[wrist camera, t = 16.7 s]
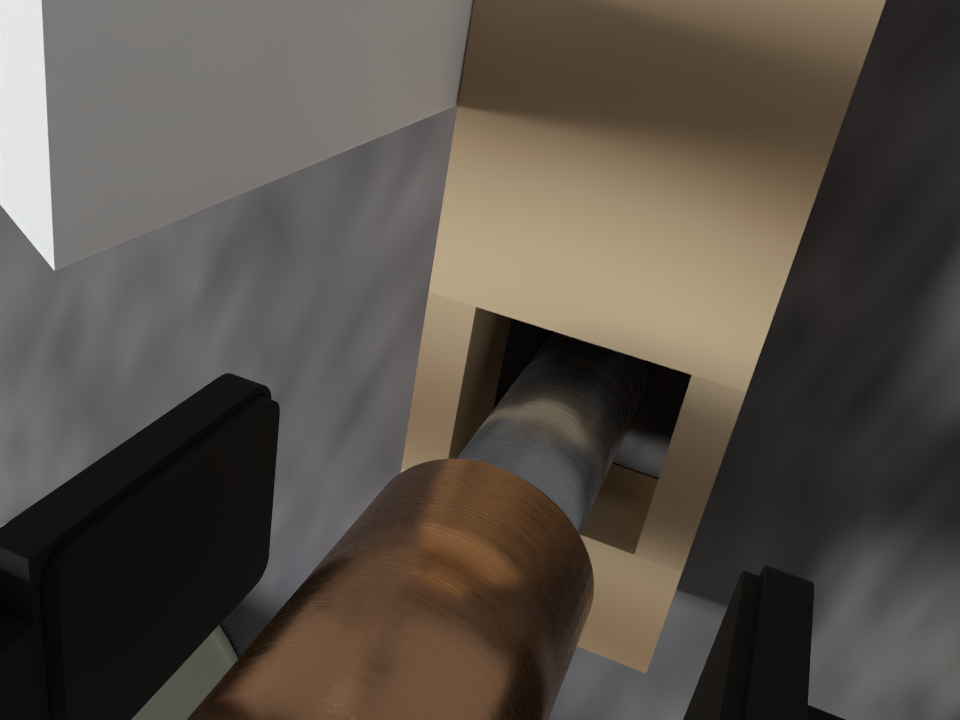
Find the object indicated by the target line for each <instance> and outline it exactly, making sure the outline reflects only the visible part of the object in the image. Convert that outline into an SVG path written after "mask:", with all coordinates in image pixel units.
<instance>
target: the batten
mask: <svg viewBox="0 0 960 720" xmlns="http://www.w3.org/2000/svg"><path fill="white" fill-rule="evenodd" d="M885 2H886V0H474V5H473V11H472V18H471V24H470V31H469V37H468V44H467V50H466V56H465V63H464V69H463V76H462V82H461V89H460V95H459V101H458V108H457V114H456V121H455V127H454V134H453V140H452V146H451V153H450V159H449V166H448V172H447V179H446V185H445V191H444V198H443V204H442V211H441V217H440V224H439V230H438V236H437V243H436V249H435V256H434V262H433V269H432V275H431V281H430V288H429V294H428V301H427V307H426V314H425V320H424V326H423V333H422V339H421V346H420V352H419V359H418V365H417V371H416V378H415V384H414V391H413V397H412V404H411V410H410V416H409V423H408V429H407V436H406V442H405V449H404V455H403V461H402V468H401V472H403V471H405V470H407V469H408V468H410V467H413V466H415V465H418V464H421V463H424V462H428V461H433V460H439V459H456V458H457V457H458V456H459V454H460V453H461V452H462V450H463V449H464V448H465V446H466V445H467V444H468V443H469V441H470V440H471V439H472V437H473V436H474V435H475V433H476V432H477V431H478V429H479V428H480V427H481V425H482V424H483V423H484V421H485V420H486V419H487V418H488V416H489V415H490V414H491V412H492V411H493V408H494V403H495V398H496V393H497V388H498V383H499V379H500V374H501V369H502V364H503V359H504V354H505V349H506V345H507V340H508V335H509V330H510V325H511V320H512V318H513V319H516V320H519V321H522V322H526V323H529V324H532V325H535V326H538V327H541V328H545V329H548V330H551V331H554V332H557V333H561V334H564V335H567V336H570V337H573V338H576V339H580V340H583V341H586V342H589V343H592V344H595V345H599V346H602V347H605V348H608V349H611V350H614V351H618V352H621V353H624V354H627V355H630V356H633V357H637V358H640V359H643V360H646V361H649V362H653V363H656V364H659V365H662V366H665V367H668V368H672V369H675V370H678V371H681V372H684V373H687V374H691V375H692V376H691V379H690V382H689V385H688V388H687V391H686V395H685V398H684V401H683V404H682V407H681V410H680V413H679V416H678V420H677V423H676V426H675V429H674V432H673V435H672V438H671V441H670V445H669V448H668V451H667V454H666V457H665V460H664V463H663V466H662V470H661V473H660V476H659V479H655V478H652V477H649V476H646V475H644V474H641V473H638V472H635V471H632V470H629V469H626V468H623V467H620V466H618V465H615V464H611V467H610V469H609V471H608V473H607V475H606V478H605V480H604V482H603V484H602V486H601V489H600V491H599V493H598V495H597V497H596V500H595V502H594V504H593V506H592V508H591V511H590V513H589V515H588V517H587V519H586V522H585V524H584V526H583V528H582V530H581V533H580V536H581V538H582V540H583V542H584V544H585V547H586V549H587V552H588V554H589V557H590V561H591V565H592V569H593V577H594V597H593V602H592V606H591V610H590V613H589V615H588V618H587V621H586V623H585V626H584V628H583V631H582V633H581V636H580V639H579V641H578V644H577V646H578V647H580V648H583V649H585V650H588V651H590V652H593V653H595V654H598V655H601V656H603V657H606V658H608V659H611V660H613V661H616V662H618V663H621V664H623V665H626V666H628V667H631V668H633V669H636V670H638V671H641V672H643V673H647V670H648V667H649V664H650V661H651V659H652V656H653V653H654V650H655V647H656V645H657V642H658V639H659V636H660V633H661V630H662V628H663V625H664V622H665V619H666V616H667V614H668V611H669V608H670V605H671V602H672V600H673V597H674V594H675V591H676V588H677V586H678V583H679V580H680V577H681V574H682V572H683V569H684V566H685V563H686V560H687V558H688V555H689V552H690V549H691V546H692V543H693V541H694V538H695V535H696V532H697V529H698V527H699V524H700V521H701V518H702V515H703V513H704V510H705V507H706V504H707V501H708V499H709V496H710V493H711V490H712V487H713V485H714V482H715V479H716V476H717V473H718V471H719V468H720V465H721V462H722V459H723V456H724V454H725V451H726V448H727V445H728V442H729V440H730V437H731V434H732V431H733V428H734V426H735V423H736V420H737V417H738V414H739V412H740V409H741V406H742V403H743V400H744V398H745V395H746V392H747V389H748V386H749V384H750V381H751V378H752V375H753V372H754V369H755V367H756V364H757V361H758V358H759V355H760V353H761V350H762V347H763V344H764V341H765V339H766V336H767V333H768V330H769V327H770V325H771V322H772V319H773V316H774V313H775V311H776V308H777V305H778V302H779V299H780V297H781V294H782V291H783V288H784V285H785V282H786V280H787V277H788V274H789V271H790V268H791V266H792V263H793V260H794V257H795V254H796V252H797V249H798V246H799V243H800V240H801V238H802V235H803V232H804V229H805V226H806V224H807V221H808V218H809V215H810V212H811V210H812V207H813V204H814V201H815V198H816V195H817V193H818V190H819V187H820V184H821V181H822V179H823V176H824V173H825V170H826V167H827V165H828V162H829V159H830V156H831V153H832V151H833V148H834V145H835V142H836V139H837V137H838V134H839V131H840V128H841V125H842V123H843V120H844V117H845V114H846V111H847V108H848V106H849V103H850V100H851V97H852V94H853V92H854V89H855V86H856V83H857V80H858V78H859V75H860V72H861V69H862V66H863V64H864V61H865V58H866V55H867V52H868V50H869V47H870V44H871V41H872V38H873V36H874V33H875V30H876V27H877V24H878V21H879V19H880V16H881V13H882V10H883V7H884V5H885Z"/></svg>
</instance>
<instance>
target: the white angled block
mask: <svg viewBox="0 0 960 720" xmlns="http://www.w3.org/2000/svg"><path fill="white" fill-rule="evenodd" d="M473 5H474V0H0V205H1V206H2V207H3V208H4V210H5V211H6V212H7V213H8V215H9V216H10V217H11V218H12V219H13V221H14V222H15V223H16V224H17V226H18V227H19V228H20V229H21V230H22V232H23V233H24V234H25V235H26V237H27V238H28V239H29V240H30V241H31V243H32V244H33V245H34V246H35V248H36V249H37V250H38V251H39V252H40V254H41V255H42V256H43V257H44V259H45V260H46V261H47V262H48V263H49V265H50V266H51V267H52V268H53V270H54V271H56V270H58V269H61V268H63V267H66V266H68V265H71V264H73V263H75V262H78V261H80V260H83V259H85V258H88V257H90V256H92V255H95V254H97V253H100V252H102V251H105V250H107V249H109V248H112V247H114V246H117V245H119V244H122V243H124V242H126V241H129V240H131V239H134V238H136V237H139V236H141V235H143V234H146V233H148V232H151V231H153V230H156V229H158V228H160V227H163V226H165V225H168V224H170V223H172V222H175V221H177V220H180V219H182V218H185V217H187V216H189V215H192V214H194V213H197V212H199V211H202V210H204V209H206V208H209V207H211V206H214V205H216V204H219V203H221V202H223V201H226V200H228V199H231V198H233V197H236V196H238V195H240V194H243V193H245V192H248V191H250V190H253V189H255V188H257V187H260V186H262V185H265V184H267V183H270V182H272V181H274V180H277V179H279V178H282V177H284V176H287V175H289V174H291V173H294V172H296V171H299V170H301V169H304V168H306V167H308V166H311V165H313V164H316V163H318V162H321V161H323V160H325V159H328V158H330V157H333V156H335V155H338V154H340V153H342V152H345V151H347V150H350V149H352V148H355V147H357V146H359V145H362V144H364V143H367V142H369V141H372V140H374V139H376V138H379V137H381V136H384V135H386V134H389V133H391V132H393V131H396V130H398V129H401V128H403V127H406V126H408V125H410V124H413V123H415V122H418V121H420V120H422V119H425V118H427V117H430V116H432V115H435V114H437V113H439V112H442V111H444V110H447V109H449V108H452V107H454V106H456V105H458V101H459V95H460V89H461V82H462V76H463V69H464V63H465V56H466V50H467V44H468V37H469V31H470V24H471V18H472V11H473Z"/></svg>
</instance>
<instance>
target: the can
mask: <svg viewBox="0 0 960 720" xmlns="http://www.w3.org/2000/svg"><path fill="white" fill-rule="evenodd" d="M7 523H8V522H7ZM5 524H6V523H5ZM5 524H3V525H5ZM3 525H1V526H0V527H2V526H3ZM237 660H238V658H237V655H236V653H235V651H234V649H233V647H232V645H231V644H230V642H229V640H228V638H227V636H226V634H225V633H224V631H223V630H222V628H221V627H220V625H219V626H218V627H217V628H216V629H215V630H214V631H213V632H212V633H211V634H210V635H209V636H208V637H207V639H206V640H205V641H204V642H203V643H202V644H201V645H200V646H199V647H198V648H197V649H196V650H195V652H194V653H193V654H192V655H191V656H190V657H189V658H188V659H187V660H186V661H185V662H184V663H183V664H182V666H181V667H180V668H179V669H178V670H177V671H176V672H175V673H174V674H173V675H172V676H171V677H170V679H169V680H168V681H167V682H166V683H165V684H164V685H163V686H162V687H161V688H160V689H159V690H158V691H157V693H156V694H155V695H154V696H153V697H152V698H151V699H150V700H149V701H148V702H147V703H146V704H145V706H144V707H143V708H142V709H141V710H140V711H139V712H138V713H137V714H136V715H135V716H134V717H133V718H132V720H187V719H188V717H189V716H190V715H191V714H192V713H193V712H194V710H195V709H196V708H197V707H198V706H199V705H200V703H201V702H202V701H203V700H204V699H205V697H206V696H207V695H208V694H209V693H210V692H211V690H212V689H213V688H214V687H215V686H216V685H217V683H218V682H219V681H220V680H221V679H222V678H223V676H224V675H225V674H226V673H227V672H228V670H229V669H230V668H231V667H232V666H233V665H234V663H235V662H236V661H237Z"/></svg>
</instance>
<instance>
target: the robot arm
mask: <svg viewBox="0 0 960 720" xmlns="http://www.w3.org/2000/svg"><path fill="white" fill-rule="evenodd" d="M279 415H280V409H279V405H278V403H277V402H276V401H274V400H271V393H270V390H269V388H267V387H266V386H264V385H262V384H259V383H256V382H253V381H250V380H248V379H245V378H242V377H239V376H236V375H234V374H229V373H226V374H224V375H222V376H220V377H218V378H217V379H215V380H214V381H212V382H211V383H210V384H208V385H207V386H205V387H204V388H202V389H201V390H199V391H198V392H197V393H195V394H194V395H192V396H191V397H189V398H188V399H186V400H185V401H183V402H182V403H181V404H179V405H178V406H176V407H175V408H173V409H172V410H170V411H169V412H167V413H166V414H165V415H163V416H162V417H160V418H159V419H157V420H156V421H154V422H153V423H151V424H150V425H149V426H147V427H146V428H144V429H143V430H141V431H140V432H138V433H137V434H135V435H134V436H133V437H131V438H130V439H128V440H127V441H125V442H124V443H122V444H121V445H119V446H118V447H117V448H115V449H114V450H112V451H111V452H109V453H108V454H106V455H105V456H103V457H102V458H101V459H99V460H98V461H96V462H95V463H93V464H92V465H90V466H89V467H87V468H86V469H85V470H83V471H82V472H80V473H79V474H77V475H76V476H74V477H73V478H71V479H70V480H69V481H67V482H66V483H64V484H63V485H61V486H60V487H58V488H57V489H56V490H54V491H53V492H51V493H50V494H48V495H47V496H45V497H44V498H42V499H41V500H40V501H38V502H37V503H35V504H34V505H32V506H31V507H29V508H28V509H26V510H25V511H24V512H22V513H21V514H19V515H18V516H16V517H15V518H13V519H12V520H10V521H9V522H8V523H6V524H5V525H3V526H2V527H0V720H132V718H133V717H134V716H135V715H136V714H137V713H138V712H139V711H140V710H141V709H142V708H143V707H144V706H145V704H146V703H147V702H148V701H149V700H150V699H151V698H152V697H153V696H154V695H155V694H156V693H157V691H158V690H159V689H160V688H161V687H162V686H163V685H164V684H165V683H166V682H167V681H168V680H169V679H170V677H171V676H172V675H173V674H174V673H175V672H176V671H177V670H178V669H179V668H180V667H181V666H182V664H183V663H184V662H185V661H186V660H187V659H188V658H189V657H190V656H191V655H192V654H193V653H194V652H195V650H196V649H197V648H198V647H199V646H200V645H201V644H202V643H203V642H204V641H205V640H206V639H207V637H208V636H209V635H210V634H211V633H212V632H213V631H214V630H215V629H216V628H217V627H218V626H219V624H220V623H221V622H222V621H223V620H224V619H225V618H226V617H227V616H228V615H229V614H230V613H231V612H232V610H233V609H234V608H235V607H236V606H237V605H238V604H239V603H240V602H241V601H242V600H243V599H244V597H245V596H246V595H247V594H248V593H249V592H250V591H251V590H252V589H253V588H254V587H255V586H256V584H257V583H258V582H259V580H260V579H261V577H262V575H263V573H264V571H265V569H266V566H267V563H268V558H269V547H270V533H271V520H272V507H273V494H274V481H275V468H276V454H277V441H278V428H279ZM813 600H814V584H813V582H810V581H808V580H805V579H802V578H799V577H797V576H794V575H791V574H788V573H785V572H783V571H780V570H777V569H774V568H771V567H769V566H764V568H763V569H762V571H761V573H760V575H759V576H757V575H754V574H751V573H748V572H746V571H743V572H742V574H741V576H740V578H739V580H738V583H737V585H736V588H735V590H734V593H733V596H732V598H731V601H730V603H729V606H728V608H727V611H726V613H725V616H724V618H723V621H722V623H721V626H720V628H719V631H718V633H717V636H716V638H715V641H714V643H713V646H712V648H711V651H710V654H709V656H708V659H707V661H706V664H705V666H704V669H703V671H702V674H701V676H700V679H699V681H698V684H697V686H696V689H695V691H694V694H693V696H692V699H691V701H690V704H689V706H688V709H687V712H686V714H685V717H684V719H683V720H845V719H842V718H840V717H837V716H835V715H832V714H830V713H827V712H824V711H822V710H819V709H817V708H814V707H812V706H809V705H808V688H809V670H810V653H811V635H812V618H813Z"/></svg>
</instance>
